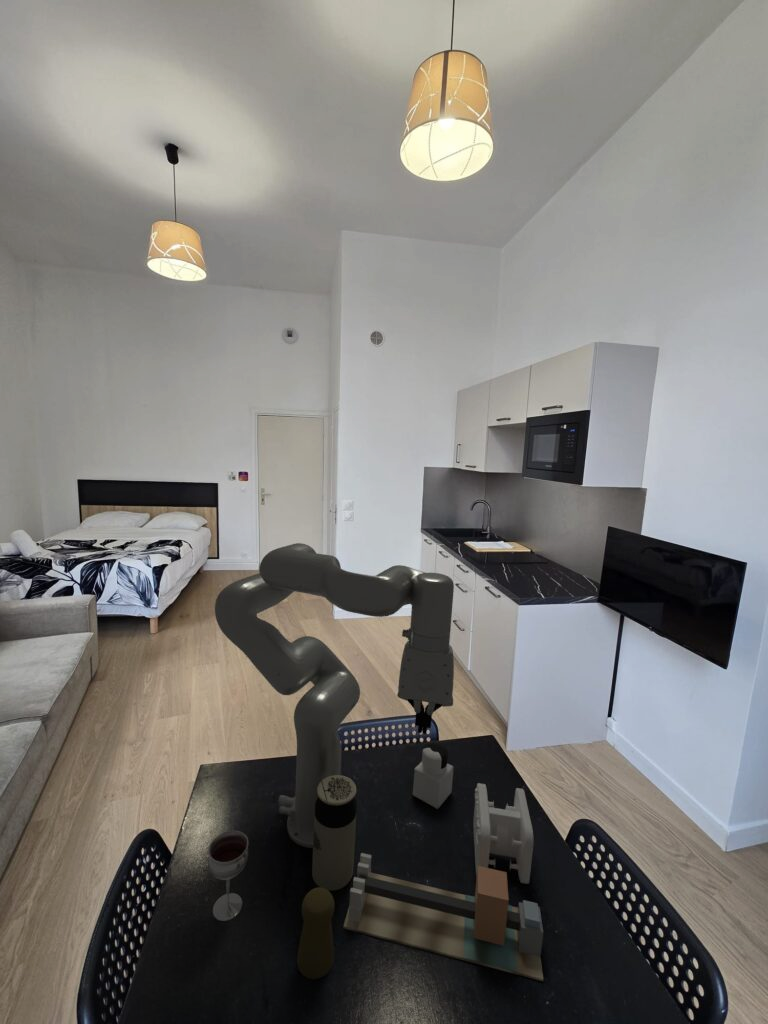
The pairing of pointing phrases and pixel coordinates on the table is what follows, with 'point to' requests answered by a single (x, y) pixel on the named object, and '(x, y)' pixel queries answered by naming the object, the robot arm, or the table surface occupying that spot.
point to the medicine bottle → (433, 776)
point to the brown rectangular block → (490, 905)
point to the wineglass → (228, 869)
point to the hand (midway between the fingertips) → (422, 729)
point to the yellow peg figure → (316, 934)
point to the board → (441, 931)
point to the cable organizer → (503, 832)
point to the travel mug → (334, 832)
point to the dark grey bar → (429, 900)
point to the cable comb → (359, 888)
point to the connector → (530, 928)
